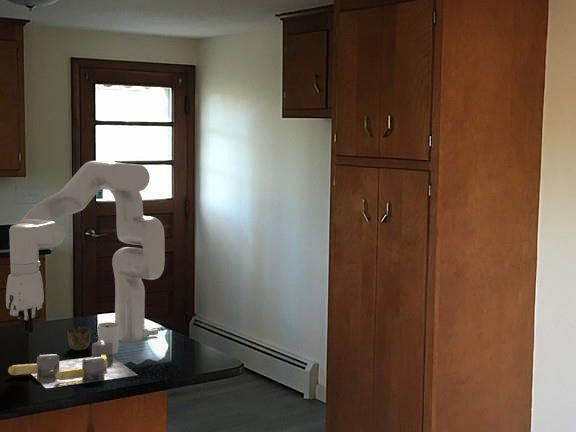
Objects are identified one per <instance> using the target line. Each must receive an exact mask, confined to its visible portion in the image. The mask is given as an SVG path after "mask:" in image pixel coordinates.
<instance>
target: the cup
mask: <svg viewBox="0 0 576 432" xmlns="http://www.w3.org/2000/svg"><path fill="white" fill-rule="evenodd" d="M66 332H67V342H68V346H69V347H70V349H71V350H74V351H77V352H79V351H85V350H86V349H87V348H88V347H89V345H90V344H91V338H92V337H91V336H92V328H91V327H90V326H89V327H87V326H85V325H83V326H80V325H79V326H78V328H75V327H74V326H72V327H68V329H66Z"/></svg>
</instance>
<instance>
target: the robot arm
mask: <svg viewBox="0 0 576 432" xmlns="http://www.w3.org/2000/svg"><path fill="white" fill-rule="evenodd" d="M150 177H151V176H150V172H149V170H148V168H147V167H145V166H144V165H143V164H136V163H135V164H134V163H125V162H116V161H107V160H106V161H104V160H90V161H86V162H85V163H84V164H83V165H82V166H81V167H80V168H79V169H78V170H77V172H75V174H74V175H73V176H72V177H71V178H70V180H69V181H68V182H67V183H66V184H65V185H64V187H63V188H62V189H60V191H58V192H56V193H53V194H51V195H49V196H48V197H46V198H45V199H42V200H41V201H39V202H37V203H36V204H35V205H34V206H32V207H31V208H30V209H29V210H28V212H27V213H26V214H24V216H23V217H22V219H21V220H20V221H19V223H17V224H12V225H11V226H10V228H9V233H8V234H9V258H10V274H9V275H8V276H7V282H6V289H5V290H6V291H5V307H6V309H8V310H9V315H10V316H14V317H17V318H18V320H20V332H21V333H23V334H27V335H29V334H31V333H32V334H33V332H34V319H35V317H36V313H37V312H38V311H39V310H40V309H43V304H44V302H45V301H44V299H45V295H44V294H45V293H44V283H43V282H44V281H43V277H42V274H41V271H40V266H41V262H40V260H39V258H40V257H39V255H40V254H39V249H41V248H46V249H47V248H48V249H50V248H56V247H57V246H60V245H61V244H62V243H63V241H64V240H65V238H66V230H65V228H64V225H62V224H61V223H59V222H57V221H54V220H56V219H58V218H61V217H65V216H70V215H73V214H77V213H79V212H81V211H83V210H84V209H85V208H86V207H87V206H88V205H89V203H90V202H91V201H92V200H93V198H94V197H96V195H97V194H98V193H99V191H100V190H106V191H107V190H109V192H110V193H111V195H112V196H113V198H114V201H115V209H116V210H115V211H116V212H115V213H116V215H115V216H116V235H117V239H118V240H119V241H120V242H122V243H124V244H129V245H137V246H142V248H140V247H130V246H126V247H125V246H124V247H121V248H119V249H118V250H116V251H115V252H114V254H113V256H112V265H111V266H112V269H113V276H114V286H115V293H114V294H115V297H114V298H115V300H114V301H115V303H114V307H115V308H114V323H118V324H119V342H125V343H132V342H133V343H134V342H140V341H142V340H146V339H148V337H150V336H157V335H158V334H159V329H157V328H146V327H145V309H146V308H145V307H146V306H145V302H146V301H145V300H146V299H145V297H146V289H145V285H144V282H143V280H142V279H144V280H150V281H151V280H152V281H153V280H157V279H159V278H160V277H161V276H162V274H163V273H164V269H165V263H166V262H165V260H166V259H165V257H166V256H165V250H166V248H165V246H166V245H165V242H166V241H165V239H166V238H165V229H164V226H163V223H162V222H161V220H160V219H158V218H156V217H154V216H150V215H149V216H148V215H144V208H143V207H144V206H143V205H144V204H143V197H142V195H141V192H142V191H143V190H145V189H146V188H147V187H148V186H149V184H150Z"/></svg>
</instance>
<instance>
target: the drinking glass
mask: <svg viewBox="0 0 576 432" xmlns="http://www.w3.org/2000/svg"><path fill="white" fill-rule="evenodd" d="M97 339H98V340H97V342H101V340H103V341H104V342H111V343H112V344H113V355H116V354H118V353H119V342H120V341H119V324H118V323H115V322H111V321H110V322H109V321H108V322H101V323H98V324H97Z"/></svg>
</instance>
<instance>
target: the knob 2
mask: <svg viewBox="0 0 576 432" xmlns="http://www.w3.org/2000/svg"><path fill="white" fill-rule="evenodd" d="M113 355H114V354H113V344H112V343H111V342H104V341H103V340H101V342H98V341H97V342H93V343H91V357H101V358H103V359H104V360H105V367H107V365H108V363H109V362H112V361H113V358H114V357H113Z"/></svg>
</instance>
